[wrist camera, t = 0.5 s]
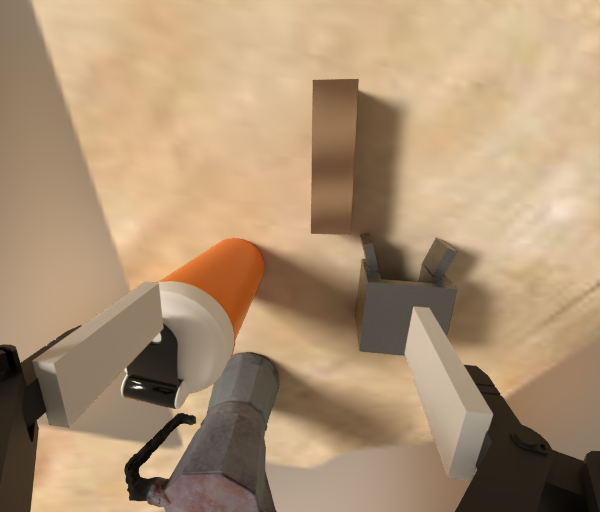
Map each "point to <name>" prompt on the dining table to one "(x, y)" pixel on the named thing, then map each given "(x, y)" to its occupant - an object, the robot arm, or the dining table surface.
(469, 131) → the dining table surface
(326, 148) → the brown wooden block
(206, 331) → the shaker bottle
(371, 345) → the end cap
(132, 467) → the moka pot
